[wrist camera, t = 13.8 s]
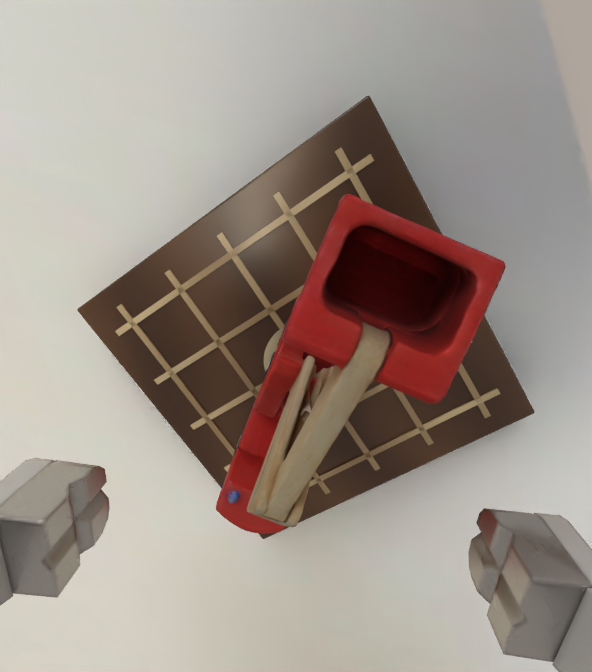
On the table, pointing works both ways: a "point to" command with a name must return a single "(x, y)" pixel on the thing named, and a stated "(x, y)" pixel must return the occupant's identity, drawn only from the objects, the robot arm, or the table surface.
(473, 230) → the table surface
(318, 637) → the table surface
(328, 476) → the board
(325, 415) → the toy fire truck
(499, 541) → the robot arm
